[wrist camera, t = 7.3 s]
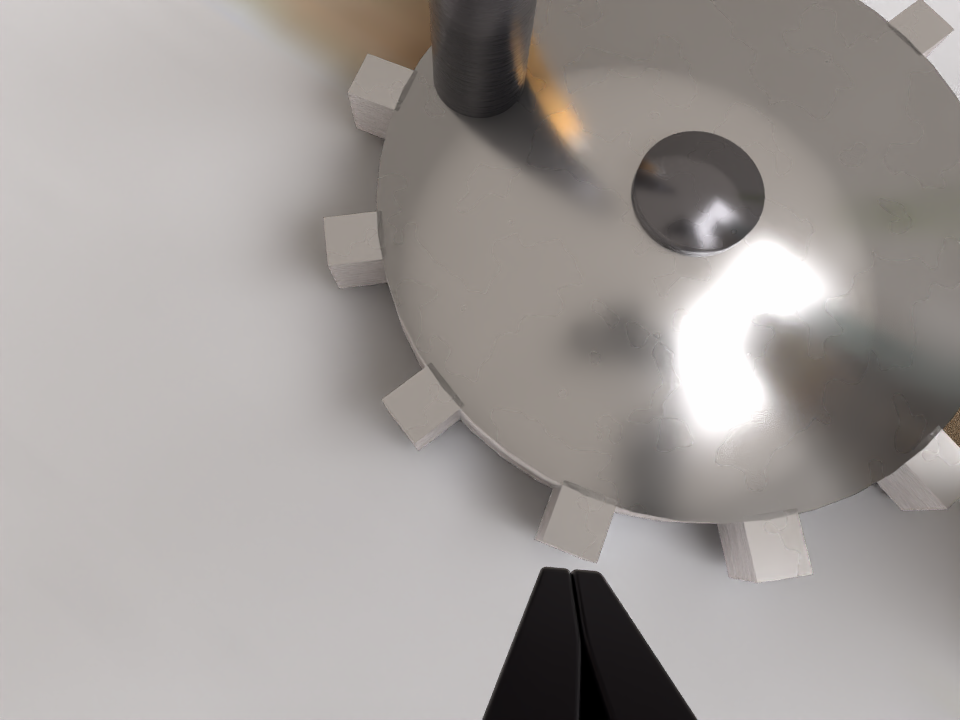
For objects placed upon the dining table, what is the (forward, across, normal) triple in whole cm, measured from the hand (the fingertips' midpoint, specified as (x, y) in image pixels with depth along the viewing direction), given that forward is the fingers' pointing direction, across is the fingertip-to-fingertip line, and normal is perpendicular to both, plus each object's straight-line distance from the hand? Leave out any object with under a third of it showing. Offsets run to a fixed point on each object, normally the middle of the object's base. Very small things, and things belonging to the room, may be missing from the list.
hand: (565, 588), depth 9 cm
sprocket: (+16, -5, 0) cm, 17 cm away
